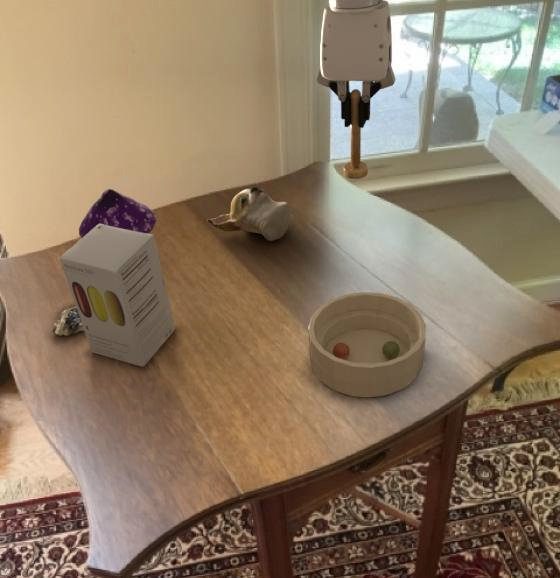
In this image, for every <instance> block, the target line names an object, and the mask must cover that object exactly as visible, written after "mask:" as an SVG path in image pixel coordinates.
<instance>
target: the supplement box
mask: <svg viewBox="0 0 560 578" xmlns="http://www.w3.org/2000/svg"><path fill="white" fill-rule="evenodd" d="M59 261H60V264H61V266H62V270H63V272H64V275H65V278H66V281H67V284H68V287H69V289H70V293H71V295H72V298H73V301H74V305H75V306H76V307H77V310H78V313H79V316H80V319H81V322H82V325H83V328H84V331H83V332H84V333H85V336H86V339H87V342H88V345H89V348H90V350H91V353H93V354H96V355H97V354H98V355H100V356H103V357H108V358H110V359H114V360H116V361H117V360H118V361H120V362H124V363H127V364H131V365H134V366H136V367H137V366H138V367H141V368H144V367H145V366H146V365H147V364H148V363H149V362H150V360H151V359H152V358H153V356H154V355H155V354H156V353H157V352H158V351H159V350H160V348H162V346H163V345H164V343H165V342H166V341H167V340H168V339H169V337H171V335H172V334H173V333H174V332H175V330H176V327H175V322H174V318H173V317H174V316H173V313H172V309H171V303H170V300H169V296H168V291H167V286H166V280H165V277H164V273H163V269H162V264H161V258H160V254H159V250H158V245H157V241H156V238H155V234H152V233H149V234H147V233H141V232H136V231H131V230H126V229H121V228H117V227H112V226H108V225H104V224H98V225H97V226H96V227H94V228H93V229H92V230H91V231H90V232H88V233H87V234H86V235H85V236H84V237H83V238H80V239H79V240H78V241H77V242H76V243H75V244H73V245H72V246H71V247H69V249H67V250H66V251H65V252H64V253H63V254H62V255H61V256H60V257H59Z"/></svg>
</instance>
